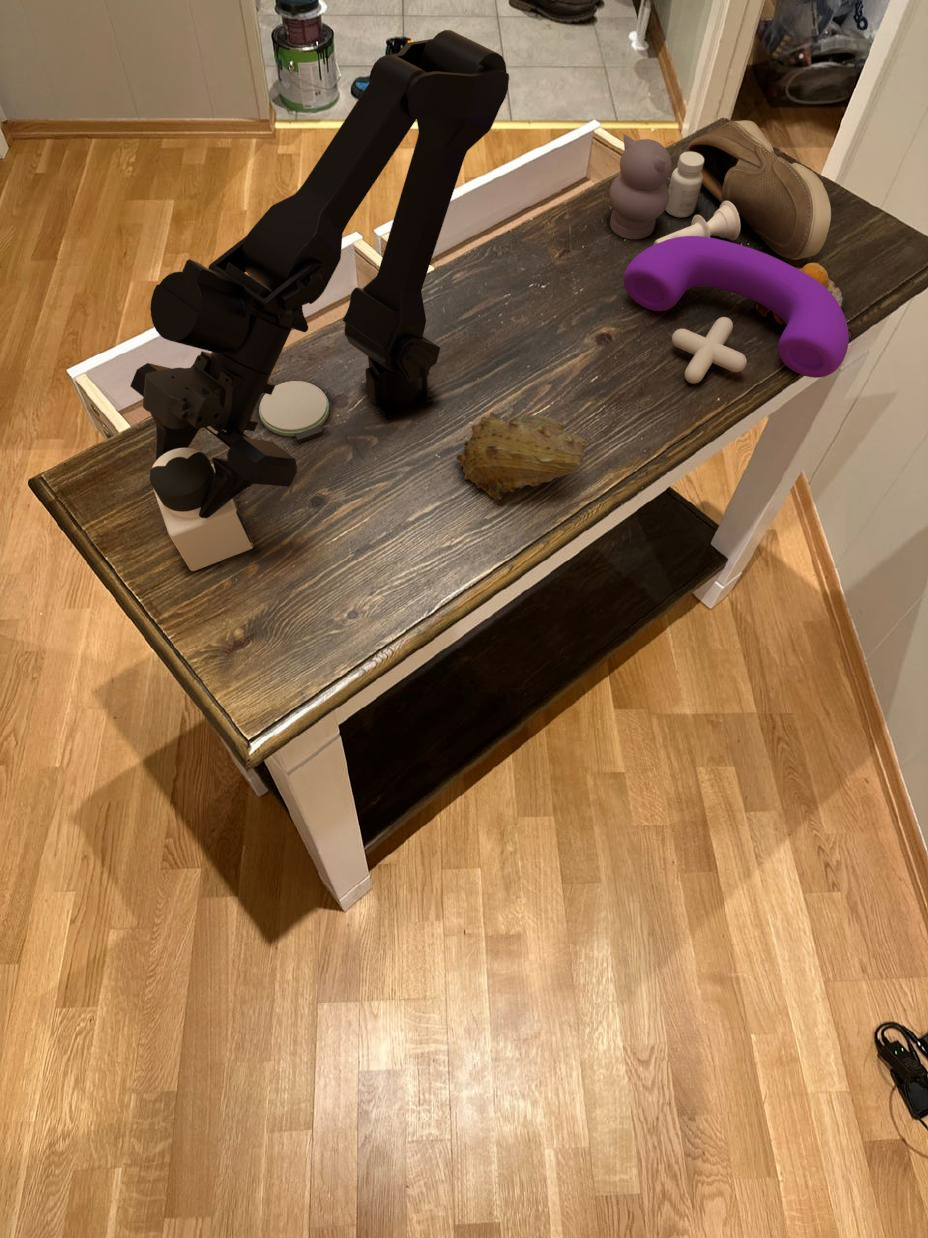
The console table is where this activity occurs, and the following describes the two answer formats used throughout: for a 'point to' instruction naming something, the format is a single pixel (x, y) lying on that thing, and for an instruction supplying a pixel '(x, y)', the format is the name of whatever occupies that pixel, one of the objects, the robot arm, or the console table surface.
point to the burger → (820, 276)
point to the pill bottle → (685, 185)
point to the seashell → (519, 453)
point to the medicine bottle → (196, 510)
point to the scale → (295, 410)
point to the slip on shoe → (765, 189)
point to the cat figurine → (639, 188)
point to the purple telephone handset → (788, 292)
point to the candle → (712, 225)
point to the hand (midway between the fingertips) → (181, 498)
